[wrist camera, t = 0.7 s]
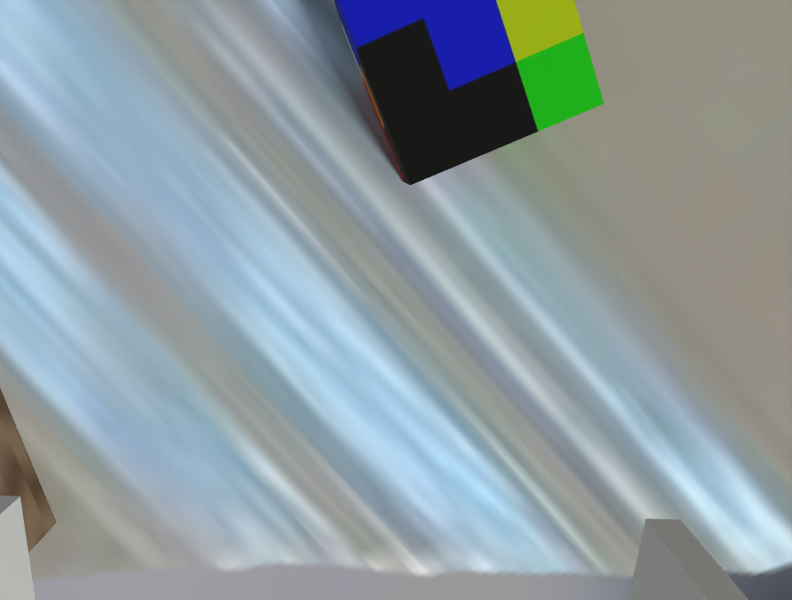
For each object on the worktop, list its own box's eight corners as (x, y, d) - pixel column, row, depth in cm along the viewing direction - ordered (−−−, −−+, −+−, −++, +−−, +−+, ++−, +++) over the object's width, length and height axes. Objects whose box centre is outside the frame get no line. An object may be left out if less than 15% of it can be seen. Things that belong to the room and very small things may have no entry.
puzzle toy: (343, 32, 32) (326, -28, 22) (490, -34, 31) (538, -125, 22) (402, 181, 35) (410, 185, 25) (540, 123, 34) (603, 103, 24)
